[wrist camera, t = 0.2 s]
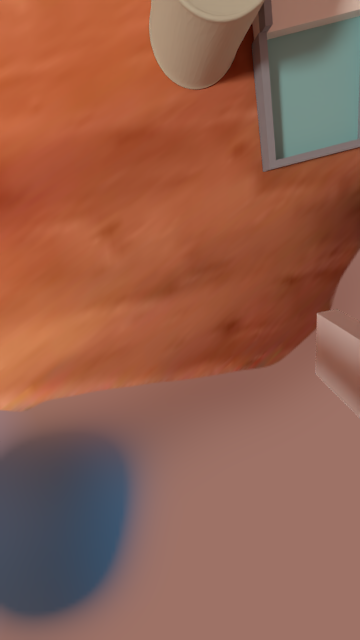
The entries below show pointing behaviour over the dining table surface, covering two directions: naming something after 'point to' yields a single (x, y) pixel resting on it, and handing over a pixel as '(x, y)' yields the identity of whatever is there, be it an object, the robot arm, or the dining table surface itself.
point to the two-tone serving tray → (307, 79)
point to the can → (199, 37)
